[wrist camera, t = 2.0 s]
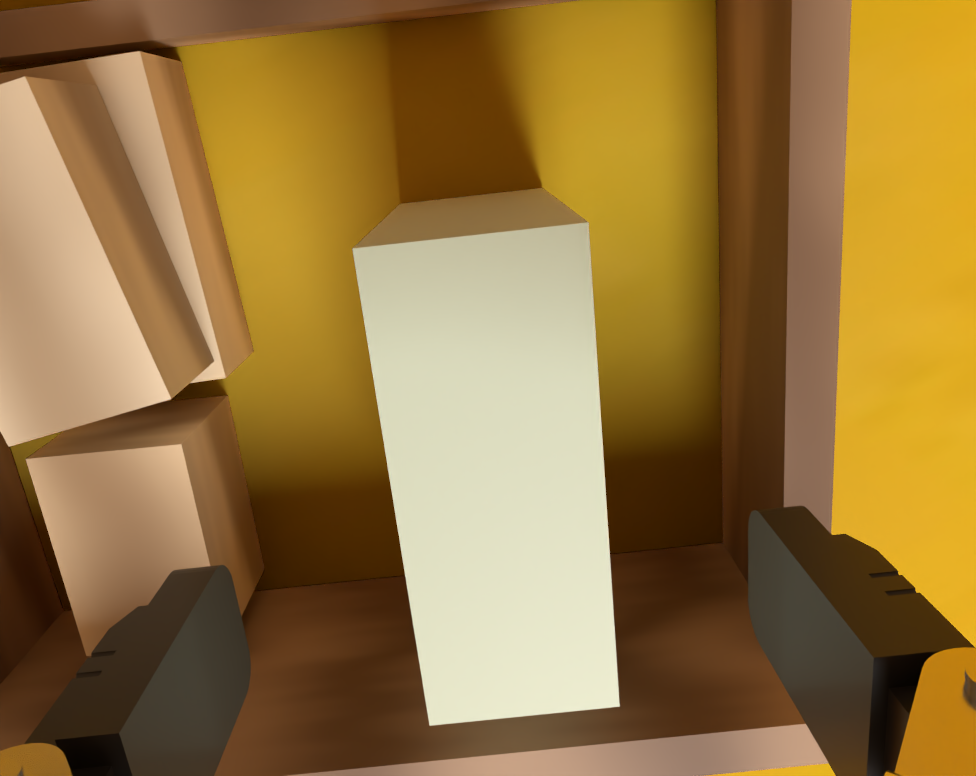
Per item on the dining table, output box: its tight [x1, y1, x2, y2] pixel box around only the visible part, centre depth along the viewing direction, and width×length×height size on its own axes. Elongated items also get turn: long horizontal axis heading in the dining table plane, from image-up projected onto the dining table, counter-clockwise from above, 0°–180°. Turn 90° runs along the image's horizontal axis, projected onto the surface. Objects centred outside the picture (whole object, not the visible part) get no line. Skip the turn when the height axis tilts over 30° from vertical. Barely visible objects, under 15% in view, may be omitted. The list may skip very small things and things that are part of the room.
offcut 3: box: [26, 395, 265, 656], centre depth 22 cm, size 4×6×4 cm, turn 5°
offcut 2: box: [0, 76, 214, 447], centre depth 18 cm, size 4×7×3 cm, turn 16°
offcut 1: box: [0, 51, 254, 383], centre depth 20 cm, size 5×8×3 cm, turn 8°
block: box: [352, 188, 620, 726], centre depth 19 cm, size 4×10×9 cm, turn 6°
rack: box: [0, 0, 851, 776], centre depth 19 cm, size 24×19×8 cm
